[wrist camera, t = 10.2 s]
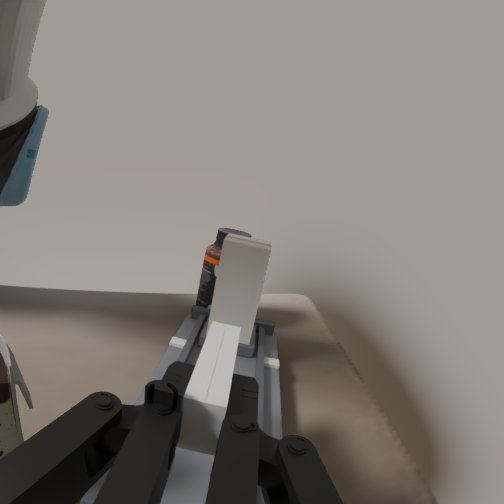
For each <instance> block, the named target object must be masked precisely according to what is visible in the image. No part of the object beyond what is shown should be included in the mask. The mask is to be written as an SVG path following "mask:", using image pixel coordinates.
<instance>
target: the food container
mask: <svg viewBox="0 0 504 504" xmlns="http://www.w3.org/2000/svg"><path fill="white" fill-rule="evenodd" d="M15 384H18V385H19V388H20V390H21V392H22V394H23V396H24V398H25V400H26V402H27V404H28V406H29V408H33V405H32V401H31V397H30V393H29V391H28V389H27V387H26V384H25V382H24V380H23V377H22V375H21V373H20V370H19V368H18V365H17V363H16V360H15V358H14V355H13V353H12V351H11V350H10V348H9V347H8V345H7V344H6V342H5V340H4V338H3V337H2V335H1V333H0V459H1V458H2V457H4V456H5V455H6V454H8V453H9V452H11V451H12V450H14V449H15V448H16V447H18V446H19V445H21V444H22V443H23V442H24V440H23V435H22V430H21V424H20V418H19V412H18V405H17V398H16V389H15Z"/></svg>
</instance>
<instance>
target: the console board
mask: <svg viewBox="0 0 504 504" xmlns="http://www.w3.org/2000/svg"><path fill="white" fill-rule="evenodd" d="M210 311H211V309H209V308H204V307H200V306H196V305H193V307H192V310H191V314H187V316H186V318H185V319H184V321H183V323H182V324H181V326H180V328H179V329H178V331H177V333H176V334H175V336H174V337H172V339H171V341H170V343H169V346H168V348H167V350H166V351H165V353H164V355H163V356H162V358H161V360H160V362H159V363H158V365H157V367H156V368H155V370H154V372H153V373H152V375H151V377H150V379H149V380H148V382H151V381H153V380H162V378H163V376H164V374H165V372H166V370H167V368H168V366H169V365H170V364H172V363H173V362H175V361H180V362H184V363H188V364H192V365H196V363H197V360H198V358H199V355H200V352H201V350H202V347H200V346H198V344H199V338H200V335H201V333H202V330H203V328H204V326H205V323H206V321H207V319H208V317H209V316H210ZM254 326H256V331H255V344H254V351H253V355H252V358H251V357H246V356H241V355H236V359H235V365H234V370H233V373H234V374H239V375H244V376H249V377H255V379H256V381H257V383H258V384H259V393H258V418H257V422H258V425H259V428H260V429H261V430H262V431H263V432H264V433H266V434H267V435H269V436H271V437H273V438H276V439H279V440H281V439H282V419H281V400H280V383H279V359H278V350H277V334H276V333H274V332H273V331H274V327H275V322H270V321H265V320H260V319H255V322H254ZM148 382H147V383H148ZM144 400H145V387H144V389H143V391H142V392H141V394H140V396H139V398H138V399H137V401H136V403H135V404H134V405H142V404H144ZM177 445H178V444H177ZM214 457H215V456H213V455H208V454H204V453H199V452H195V451H191V450H187V449H183V448H179V447H176V451H175V458H174V461H173V464H172V467H171V471H170V474H169V477H168V480H167V483H166V486H165V490H164V493H163V496H162V499H161V502H160V504H205V502H206V496H207V491H208V486H209V481H210V474H211V470H212V466H213V461H214ZM110 469H111V468H110ZM110 469H109V470H108V471H107V472H106V473H105V474H104V475H103V476H102V477H101V478H100V479H99V480H98V481H97V482H96V483H95V484H94V485H93V486H92V487H91V488H90V489H89V490H88V491H87V492H86V493H85V494H84V496H83V497H82V499H81V501H80V503H79V504H93V503H94V501H95V499H96V496H97V494H98V492H99V490H100V488H101V486H102V484H103V482H104V480H105V478H106V476H107V475H108V473H109V471H110ZM257 504H265V501H264V498H263V494H262V491H261V487H260V486H257Z"/></svg>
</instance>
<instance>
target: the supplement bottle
mask: <svg viewBox="0 0 504 504" xmlns="http://www.w3.org/2000/svg"><path fill="white" fill-rule="evenodd" d="M229 233H231V234H236V235H241V236H245V237H250V238H251V235H250V234H248V233H246V232H243V231H239V230H235V229H229V228H219V230H218V234H217V237H216V238H217V240H216V242H215V243H214V244H212V245H210V246H209V247H208V248H207V250H206V253H205V259H204V264H203V268H202V274H201V279H200V286H199V290H198V296H197V301H196V306H200V307H204V308H209V309H211V305H212V299H213V294H214V289H215V283H216V278H217V272H218V267H219V262H220V257H221V251H222V246H223V241H224V239H225V237H226V236H227V235H228V234H229Z"/></svg>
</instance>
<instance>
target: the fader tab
mask: <svg viewBox="0 0 504 504" xmlns="http://www.w3.org/2000/svg"><path fill="white" fill-rule="evenodd" d="M270 252H271V245H270V242H269V241H264V240H259V239H255V238H250V237H245V236H241V235H236V234H231V233H229V234H228V235H227V236H226V237H225V239H224V241H223V246H222V251H221V257H220V262H219V267H218V272H217V278H216V283H215V289H214V294H213V299H212V305H211V311H210V316H209V317H208V319H207V321H206V323H205V326H204V328H203V330H202V333H201V335H200V338H199V344H198V346H200V347H203V345H204V342H205V339H206V337H207V334H208V331H209V329H210V326H211V324H212V321H214V322H219V323H223V324H227V325H232V326H237V327H241V330H240V336H239V342H238V347H237V353H236V355H241V356H246V357H251V358H252V355H253V351H254V344H255V331H256V326H254V322H255V317H256V313H257V309H258V305H259V300H260V296H261V292H262V287H263V283H264V279H265V274H266V270H267V265H268V261H269V257H270Z"/></svg>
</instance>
